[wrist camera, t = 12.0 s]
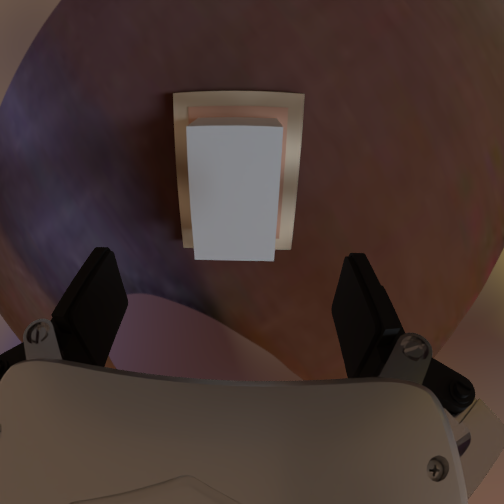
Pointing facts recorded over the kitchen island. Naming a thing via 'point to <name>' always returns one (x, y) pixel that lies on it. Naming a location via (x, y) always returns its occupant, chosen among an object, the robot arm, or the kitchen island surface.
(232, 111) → the pin block
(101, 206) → the kitchen island surface
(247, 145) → the block
